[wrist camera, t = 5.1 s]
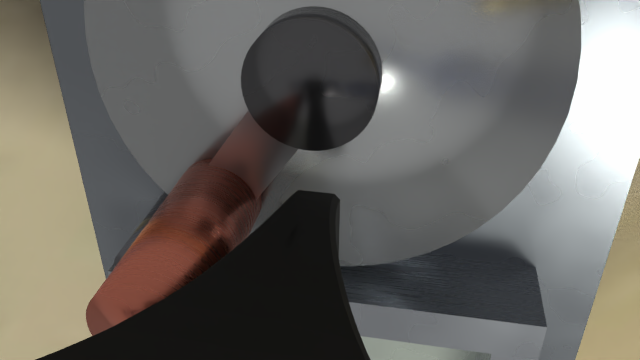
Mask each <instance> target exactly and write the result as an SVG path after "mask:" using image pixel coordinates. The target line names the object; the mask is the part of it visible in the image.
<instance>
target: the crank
mask: <svg viewBox="0 0 640 360" xmlns="http://www.w3.org/2000/svg"><path fill="white" fill-rule="evenodd" d="M84 16H85V35H86V41H87V46H88V52H89V57H90V63H91V67H92V70H93V74H94V77H95V80H96V83H97V87H98V90H99V93H100V95H101V98H102V100H103V102H104V105H105V107H106V109H107V112H108V114H109V116H110V119H111V120H112V122H113V124H114V126H115V127H116V129H117V131H118V133H119V134H120V136H121V138H122V140H123V141H124V143H125V145H126V146H127V147H128V149H129V150H130V152H131V153H132V154H133V156H134V157H135V159H136V160H137V161H138V163H139V164H140V166H141V167H142V168H143V169H144V170H145V171H146V172H147V174H148V175H149V176H150V177H151V178H152V179H153V180H154V181H155V183H156V184H157V185H158V186H159V187H160V188H161V189H162V190H163V191H164V192H166V193H167V194H168V196H167V197H166V199H165V200H164V201H163V203H162V204H161V205H160V207H159V208H158V209H157V211H156V212H155V214H154V215H153V216H152V218H151V219H150V220H149V222H148V223H147V224H146V226H145V227H144V229H143V230H142V231H141V233H140V234H139V235H138V237H137V238H136V239H135V241H134V242H133V243H132V245H131V246H130V248H129V249H128V250H127V252H126V253H125V254H124V256H123V257H122V258H121V260H120V261H119V263H118V264H117V265H116V267H115V268H114V269H113V271H112V272H111V273H110V275H109V276H108V278H107V279H106V280H105V282H104V283H103V284H102V286H101V287H100V288H99V290H98V291H97V293H96V294H95V295H94V297H93V298H92V299H91V301H90V302H89V304H88V307H87V310H86V320H87V325H88V328H89V330H90V332H91V334H92V336H94V335H96V334H98V333H100V332H102V331H104V330H107V329H109V328H111V327H113V326H115V325H117V324H119V323H120V322H122V321H124V320H126V319H128V318H130V317H132V316H133V315H135V314H137V313H139V312H141V311H143V310H145V309H146V308H148V307H150V306H152V305H154V304H156V303H158V302H159V301H161V300H163V299H164V298H166V297H168V296H169V295H171V294H172V293H174V292H176V291H177V290H179V289H180V288H182V287H183V286H185V285H187V284H188V283H189V282H191V281H192V280H194V279H195V278H197V277H198V276H199V275H201V274H202V273H203V272H205V271H206V270H207V269H209V268H210V267H211V266H213V265H214V264H215V263H216V262H218V261H219V260H220V259H221V258H223V257H224V256H225V255H227V254H228V253H229V252H230V251H232V250H233V249H234V248H235V247H236V246H238V245H239V244H240V243H241V242H242V241H243V240H244V239H245V238H247V237H248V236H249V235H250V234H251V233H252V232H253V231H255V230H256V229H257V228H258V227H259V226H260V225H261V224H262V223H263V222H264V221H265V220H266V219H268V218H269V217H270V216H271V215H272V214H273V213H274V212H275V211H276V210H277V209H278V208H279V207H280V206H281V205H282V204H283V203H284V202H285V201H286V200H287V199H288V198H289V197H290V196H291V195H292V194H294V193H295V192H296V191H297V190H303V191H313V192H323V193H332V194H335V195H336V196H337V197H338V198H339V199H340V225H339V263H340V266H364V265H378V264H383V263H389V262H395V261H400V260H405V259H408V258H412V257H415V256H419V255H422V254H425V253H429V252H431V251H434V250H436V249H438V248H441V247H443V246H446V245H448V244H450V243H453V242H455V241H457V240H458V239H460V238H462V237H464V236H465V235H467V234H469V233H471V232H472V231H474V230H476V229H478V228H479V227H481V226H482V225H483V224H485V223H486V222H487V221H489V220H490V219H491V218H493V217H494V216H495V215H497V214H498V213H499V212H501V211H502V210H503V209H504V208H505V207H506V206H507V205H508V204H509V203H510V202H511V201H512V200H513V199H514V198H515V197H516V196H517V195H519V194H520V193H521V192H522V191H523V189H524V188H525V187H526V186H527V184H528V183H529V182H530V181H531V179H532V178H533V177H534V176H535V174H536V173H537V172H538V171H539V169H540V168H541V166H542V165H543V163H544V161H545V160H546V158H547V157H548V155H549V153H550V152H551V150H552V148H553V147H554V145H555V143H556V141H557V139H558V137H559V134H560V132H561V130H562V128H563V125H564V123H565V121H566V118H567V116H568V114H569V110H570V107H571V103H572V99H573V96H574V92H575V88H576V85H577V80H578V72H579V64H580V56H581V48H582V46H581V11H580V5H579V0H84Z"/></svg>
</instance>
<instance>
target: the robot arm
mask: <svg viewBox="0 0 640 360" xmlns="http://www.w3.org/2000/svg"><path fill="white" fill-rule="evenodd" d="M339 225H340V199H339V198H338V197H337V196H336V195H335V194H332V193H323V192H313V191H303V190H297V191H296V192H295V193H294V194H292V195H291V196H290V197H289V198H288V199H287V200H286V201H285V202H284V203H283V204H282V205H281V206H280V207H279V208H278V209H277V210H276V211H275V212H274V213H273V214H272V215H271V216H270V217H269V218H268V219H266V220H265V221H264V222H263V223H262V224H261V225H260V226H259V227H258V228H257V229H256V230H255V231H253V232H252V233H251V234H250V235H249V236H248V237H247V238H245V239H244V240H243V241H242V242H241V243H240V244H239V245H238V246H236V247H235V248H234V249H233V250H232V251H230V252H229V253H228V254H227V255H225V256H224V257H223V258H221V259H220V260H219V261H218V262H216V263H215V264H214V265H213V266H211V267H210V268H209V269H207V270H206V271H205V272H203V273H202V274H201V275H199V276H198V277H197V278H195V279H194V280H192V281H191V282H189V283H188V284H187V285H185V286H183V287H182V288H180V289H179V290H177V291H176V292H174V293H172V294H171V295H169V296H168V297H166V298H164V299H163V300H161V301H159V302H158V303H156V304H154V305H152V306H150V307H148V308H146V309H145V310H143V311H141V312H139V313H137V314H135V315H133V316H132V317H130V318H128V319H126V320H124V321H122V322H120V323H119V324H117V325H115V326H113V327H111V328H109V329H107V330H104V331H102V332H100V333H98V334H96V335H94V336H91V337H89V338H87V339H85V340H83V341H80V342H78V343H76V344H73V345H71V346H69V347H66V348H64V349H61V350H59V351H57V352H54V353H52V354H49V355H46V356H44V357H41V358H39V359H36V360H371V359H370V357H369V355H368V353H367V351H366V349H365V346H364V343H363V341H362V338H361V336H360V333H359V331H358V328H357V325H356V322H355V319H354V316H353V314H352V311H351V307H350V304H349V301H348V297H347V294H346V290H345V286H344V282H343V277H342V273H341V268H340V263H339Z"/></svg>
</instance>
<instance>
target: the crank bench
mask: <svg viewBox="0 0 640 360" xmlns="http://www.w3.org/2000/svg"><path fill="white" fill-rule="evenodd" d="M40 3H41V7H42V12H43V16H44V20H45V24H46V28H47V33H48V37H49V41H50V45H51V49H52V54H53V58H54V62H55V66H56V70H57V75H58V79H59V83H60V87H61V91H62V96H63V100H64V104H65V108H66V112H67V117H68V121H69V125H70V129H71V133H72V138H73V142H74V146H75V150H76V154H77V159H78V163H79V167H80V171H81V175H82V180H83V184H84V188H85V192H86V196H87V201H88V205H89V209H90V213H91V217H92V222H93V226H94V230H95V234H96V238H97V243H98V247H99V251H100V255H101V259H102V264H103V268H104V272H105V276H106V279H107V278H108V276H109V275H110V273H111V272H112V271H113V269H114V268H115V267H116V265H117V264H118V263H119V261H120V260H121V258H122V257H123V256H124V254H125V253H126V252H127V250H128V249H129V248H130V246H131V245H132V243H133V242H134V241H135V239H136V238H137V237H138V235H139V234H140V233H141V231H142V230H143V229H144V227H145V226H146V224H147V223H148V222H149V220H150V219H151V218H152V216H153V215H154V214H155V212H156V211H157V209H158V208H159V207H160V205H161V204H162V203H163V201H164V200H165V199H166V197H167V196H168V194H167V193H166V192H164V191H163V190H162V189H161V188H160V187H159V186H158V185H157V184H156V183H155V181H154V180H153V179H152V178H151V177H150V176H149V175H148V174H147V172H146V171H145V170H144V169H143V168H142V167H141V166H140V164H139V163H138V161H137V160H136V159H135V157H134V156H133V154H132V153H131V152H130V150H129V149H128V147H127V146H126V145H125V143H124V141H123V140H122V138H121V136H120V134H119V133H118V131H117V129H116V127H115V126H114V124H113V122H112V120H111V119H110V116H109V114H108V112H107V109H106V107H105V105H104V102H103V100H102V98H101V95H100V93H99V90H98V87H97V83H96V80H95V77H94V74H93V70H92V67H91V63H90V57H89V52H88V46H87V41H86V35H85V16H84V0H40ZM579 5H580V11H581V46H582V48H581V56H580V64H579V72H578V80H577V85H576V88H575V92H574V96H573V99H572V103H571V107H570V110H569V114H568V116H567V118H566V121H565V123H564V125H563V128H562V130H561V132H560V134H559V137H558V139H557V141H556V143H555V145H554V147H553V148H552V150H551V152H550V153H549V155H548V157H547V158H546V160H545V161H544V163H543V165H542V166H541V168H540V169H539V171H538V172H537V173H536V174H535V176H534V177H533V178H532V179H531V181H530V182H529V183H528V184H527V186H526V187H525V188H524V189H523V191H522V192H521V193H520V194H519V195H517V196H516V197H515V198H514V199H513V200H512V201H511V202H510V203H509V204H508V205H507V206H506V207H505V208H504V209H503V210H502V211H501V212H499V213H498V214H497V215H495V216H494V217H493V218H491V219H490V220H489V221H487V222H486V223H485V224H483V225H482V226H481V227H479V228H478V229H476V230H474V231H472V232H471V233H469V234H467V235H465V236H464V237H462V238H460V239H458V240H457V241H455V242H453V243H450V244H448V245H446V246H443V247H441V248H438V249H436V250H434V251H431V252H429V253H425V254H422V255H419V256H415V257H412V258H408V259H405V260H400V261H395V262H389V263H383V264H378V265H364V266H340V268H341V273H342V277H343V282H344V286H345V290H346V294H347V297H348V301H349V304H350V307H351V311H352V314H353V316H354V319H355V322H356V325H357V328H358V331H359V333H360V336H361V338H362V341H363V343H364V346H365V349H366V351H367V353H368V355H369V357H370V359H371V360H575V358H576V355H577V352H578V349H579V346H580V343H581V339H582V336H583V333H584V330H585V327H586V324H587V321H588V317H589V314H590V311H591V308H592V305H593V302H594V299H595V295H596V292H597V289H598V286H599V283H600V280H601V277H602V273H603V270H604V267H605V264H606V261H607V258H608V254H609V251H610V248H611V245H612V242H613V239H614V236H615V232H616V229H617V226H618V223H619V220H620V217H621V214H622V210H623V207H624V204H625V201H626V198H627V195H628V192H629V188H630V185H631V182H632V179H633V176H634V173H635V169H636V166H637V163H638V160H639V157H640V0H579Z"/></svg>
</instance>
